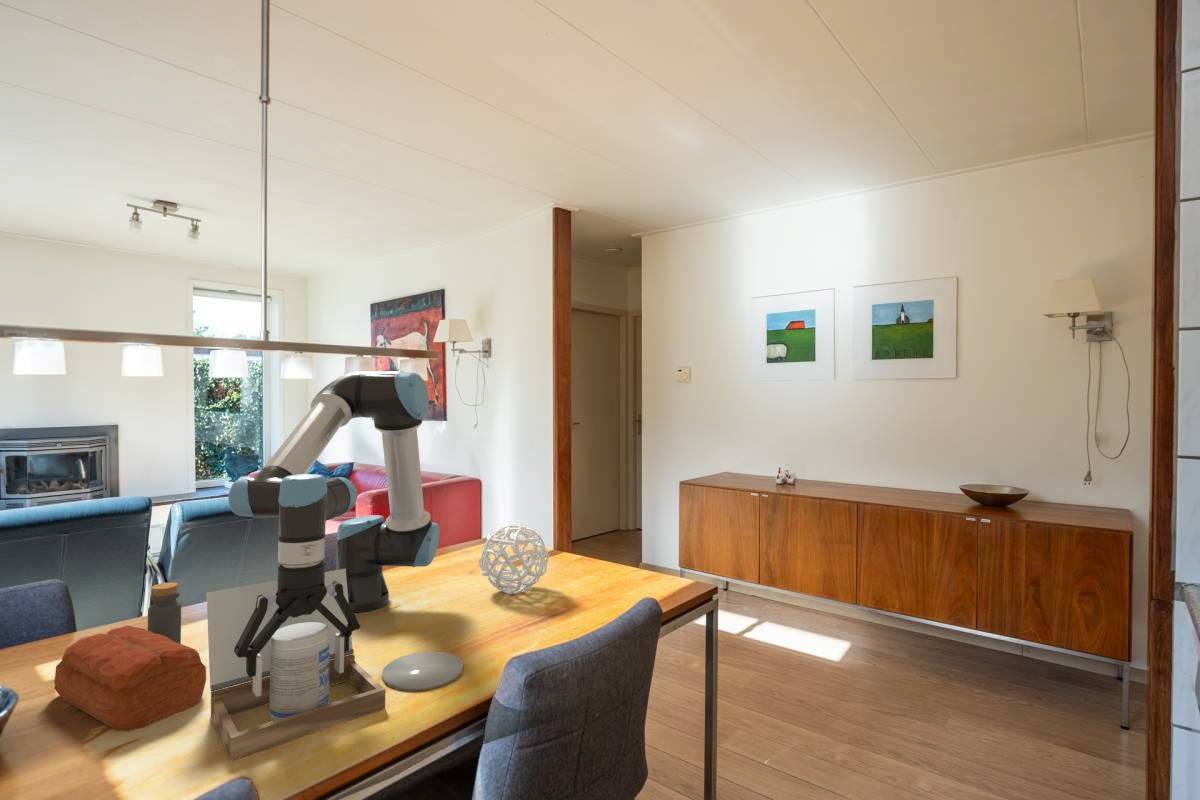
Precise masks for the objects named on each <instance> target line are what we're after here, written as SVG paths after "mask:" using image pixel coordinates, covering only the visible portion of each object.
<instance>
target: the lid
mask: <svg viewBox="0 0 1200 800" xmlns="http://www.w3.org/2000/svg"><path fill="white" fill-rule="evenodd" d="M334 581H337V582H339V583H340V584H342V585H343V593H344V597H345V598H346V600H347V602H348V591H347V579H346V568H345V569H340V570H337V569H336V570H329V571H325V581H324V584H325V586H328V585H331V584H332V583H333V582H334ZM277 590H278V579H276V580H272V581H271V580H270V581H265V582H260V583H252V584H249V585H248V584H247V585H242V586H237V587H230V588H225V589H219V590H213V591H207V592H206V612H207V614H206V616H207V635H208V636H207V637H208V638H207V639H208V641H207V642H208V663H209V664H208V665H209V666H208V667H209V686H210V687H209V689H210V693H211V692H213V691H217V690H221V689H224V688H228V687H232V686H236V685H239V684H243V683H247V682H251V681H253V676H252V677H249V676H248V674H247V672H246V657H241V658H239V657H237V655H236V654H235V652H234V648H235V646H236V644H237V642H238V641H239V639H240V637H241V635H242V633H243V631H244V629H245V627H246V625H247V623H248V621H249V619H250V618H251V616H252V614H253V612H254V610H255V607H256V600H257V597H258V596H259V595H264V596H275V595H276V593H277ZM321 603H322V604H323V605H324V606H325V607H326V608H327V609H328V610H329V611H330V612H331V613H332V614H333V615H334V616H336V617H337V618H338V619H339V620H340V621H341V622H342V623H343V624H344V625H346V624H348V622H347V620H346V618H345V616H344V614H343V613H342V611H341V609H340V607H339V606H338V604H337V602H336V600H335V598H334V596H331V595H330V594H329V593H327V594H326V596H325V597H324V599H323V600H322V601H321ZM348 604H349V602H348ZM278 608H279V606H278V605H277V604H276V603H273V604H272V605H271V607H270V609H268V610H267V611H266V614H265V616H264V618H263V620H262V622H261V624H260V626H259V628H258V630H257V632H256V634H255V636H254V638H253V640H254V639H255V638H256V637H257V635H258V634H259V633H260V632H261V630H262V629H263V628H264V627H265V625H266V624H267V623H268V622H269V620H270V619H271V618H272V617H273V614H274V613H275V611H276V610H277V609H278ZM306 622H317V623H323V624H325V625H327V626H328V628H329V660H333V659H335V634H336V633H340V631H339V630H338V629H337V628H336V627H335V626H334V625H333V624H332V623H330V622H329V621H328V620H327V619H326V618H325V617H324V616H323V615H322V614H321V613H320V612H319V611H318V610H315V611H314V612H312V614H309V615H301V616H299V617H295V618H293V617H290V616H289V617H288V619H287V620H286V621H285V622H284V623H282V624H281V626H280V627H279V628H278V629H280V628H283V627H286V626H289V625H293V624H298V623H306ZM278 629H277V630H278ZM352 639H353V638H352V635H351V636H350V637H349V650H348V652H344V656H348V655H352V654H353V655H354V652H355V651H354V648H353V640H352ZM253 640H252V642H253ZM252 642H251V643H252ZM270 643H271V638H270V640H269V641H268V642H267V643H266V645H265V646H264V647H263V648H262V650H261V651H260V652H259V654H260V655H261V657H262V678H265V677H269V676H270Z"/></svg>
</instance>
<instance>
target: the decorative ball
mask: <svg viewBox="0 0 1200 800" xmlns="http://www.w3.org/2000/svg"><path fill="white" fill-rule="evenodd" d="M512 533H513V534H514V536H513V538H511V534H512ZM519 535H522V536H519ZM499 538H502V539H499ZM529 543H530V544H531V545H532V546H533V549H527V547H528V545H529ZM495 545H496V546H497V549H494V547H495ZM508 545H510V548H511V551H512V552H513V554H511V556H509V553H508V552H507V550H506V548H508V547H507V546H508ZM519 546H522V548H521V549H520V547H519ZM539 548H540V550H539ZM491 554H492V555H493V556H494V557H493V559H492V560H491V558H490V555H491ZM524 556H525V557H524ZM501 557H502V558H503V560H499V559H500V558H501ZM528 558H529V559H528ZM549 559H550V557H549V552H548V549H546V546H545V542H544V540H543V538H542V537H541V533H539V532H538V531H536V530H535V529H534V528H531V527H527V526H525V525H522V524H514V525H512V524H511V525H501V526H500V527H499V528H498V529H497V530H495V531H493V532H490V533H488V535H487V536H486V541H485V543H484V545H483V547H482V551H481V556H480V558H479V560H478V563H479V567H480V570H481V571H480V573H481V575H482V576H483V577H486V576H487V577H488V578H487V580H488V582H489V583H490V584H491V585H492V586H493V587H494V588H495V589H497V590H499V591H500V592H502V593H504V594H507V595H516V594H519V593H523V594H524V593H526V592H528V591H529V589H530V587H533V586H534V585H535V584H536V583H537V582H538V581H539V580H540V578H541V576H544V575H545V574H546V572H547V571H548V565H547V564H548V562H549ZM516 560H518V561H519V562H520V564H521V566H522V567H521V569H518V567H517V566H516V565H515V564H513V562H515V561H516ZM498 565H499V566H500V565H501V567H500V569H497V568H496V566H498ZM489 566H490V567H489ZM533 566H534V571H535V572H534V571H533V570H532V568H533ZM507 567H509V569H506V568H507ZM515 576H516V577H515ZM527 576H530V577H528V578H527ZM525 578H527V579H525ZM524 579H525V580H524Z"/></svg>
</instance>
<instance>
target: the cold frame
mask: <svg viewBox="0 0 1200 800" xmlns="http://www.w3.org/2000/svg"><path fill="white" fill-rule="evenodd" d="M334 666H335V659H332V660H329V687H330V686H334V685H337V684H338V685H339V684H341V683H344V682H347V681H348V682H349V683H350V684H351V685H352V686H354V688H356V689H357V691H358V692H359V694H356V695H352V696H350V697H347V698H343V699H340V700H337V701H334V702H331V703H330V702H329V704H327V705H323V706H320V707H317V708H314V709H311V710H307V711H304V712H301V713H298V714H295V715H291V716H288V717H285V718H282V719H279V720H276V721H272V720H271V721H270V722H269V721H268V722H266V723H263V724H259V725H257V726H254V727H250V728H247V729H244V730H241V731H238V729H237V728H236V725H235V724H234V722H233V719H232V718H231V715H236V714H238V713H243V712H246V711H249V710H251V709H256V708H259V707H263V706H266V705H270V676H268V677H264V678H262V682H261V696H258V697H256V696H255V694H254V693H253V691H252V688H253V681H249V682H246V683H242V684H238V685H234V686H231V687H227V688H223V689H219V690H216V691H212V692H211V691H210V720H211V722H212V723H213V726H214V729H216V732H217V734H218V737H219V740H220V742H221V743H222V745H223V748H224V750H225V752H226V754H227V756H228V758H230V759H229V760H230V761H231V760H232V761H235V760H236V758H237V759H240V758H244V757H246V756H249V755H252V754H254V753H258V752H261V751H263V750H267V749H270V748H272V747H276V746H278V745H281V744H284V743H287V742H291V741H293V740H296V739H299V738H302V737H305V736H309V735H312V734H314V733H317V732H319V731H323V730H326V729H328V728H332V727H335V726H338V725H340V724H344V723H346V722H349V721H352V720H355V719H359V718H361V717H364V716H368V715H370V714H373V713H376V712H379V711H382V710H385V709H386V688H385V687H384V686H382V685H381V684H380V683H379V682H378V681H377V680H376V679H375V678H374V677H373V676H372V675H370V673H368V672H367V671H366V670H365V669H364V668H363V667H362V666H361V665H360V664H359V663H358V662H357V661H356V655H354V653H353V654H350V655H347V656H344V672H343V673H340V674H339V673H338V672H337V671H336V670H335V669H334ZM239 757H240V758H239Z"/></svg>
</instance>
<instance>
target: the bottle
mask: <svg viewBox="0 0 1200 800" xmlns="http://www.w3.org/2000/svg"><path fill="white" fill-rule="evenodd" d="M178 586H179V583H178V582H176V581H175V582H162V583H157V584H154V585H153V586H151V592H152V594H151V595H150V597H149V599H150V600H149V601H151V602H153V603H152V604H151V605H150V606H149V607H148V608H147V631H151V632H153V633H154V634H161V635H163V636H165V637H168V638H170V639H171V640H172V641H174V642H176V643H179V644H181V643H182V641H181V640H182V639H181V638H182V604H181V601H179V600H177V599H178V598H179V597H180V591H179V590H178Z"/></svg>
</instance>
